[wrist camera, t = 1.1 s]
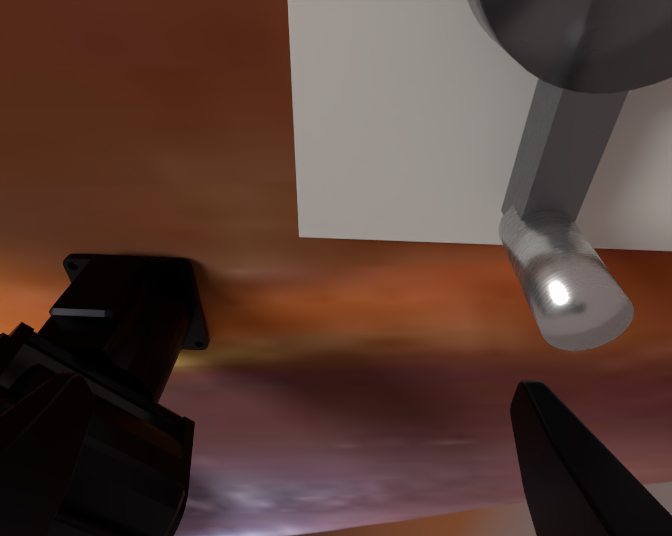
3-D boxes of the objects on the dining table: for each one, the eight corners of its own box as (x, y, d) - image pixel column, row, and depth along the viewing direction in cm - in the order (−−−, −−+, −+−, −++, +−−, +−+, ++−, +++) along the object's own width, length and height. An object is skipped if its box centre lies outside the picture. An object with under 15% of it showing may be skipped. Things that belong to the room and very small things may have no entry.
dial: (492, -321, 10) (655, -630, 4) (862, -322, 10) (1534, -650, 4) (414, 219, 19) (435, 344, 13) (606, 226, 18) (710, 356, 13)
